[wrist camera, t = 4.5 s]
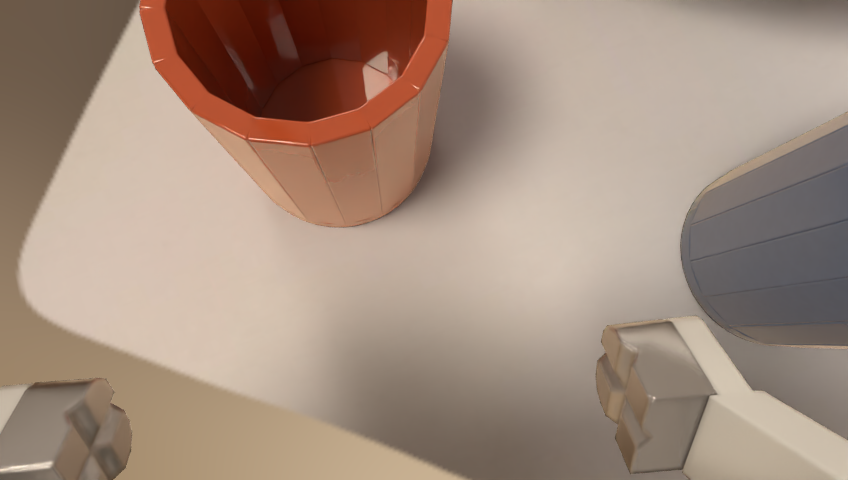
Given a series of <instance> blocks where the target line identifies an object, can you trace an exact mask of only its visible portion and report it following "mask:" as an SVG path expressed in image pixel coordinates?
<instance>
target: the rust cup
mask: <svg viewBox="0 0 848 480" xmlns="http://www.w3.org/2000/svg"><path fill="white" fill-rule="evenodd" d="M452 1H453V0H140V6H139V8H140V16H141V20H142V24H143V28H144V32H145V36H146V40H147V43H148V47H149V51H150V55H151V59H152V63H153V64H154V65H155V69H156V70H157V71H158V72H159V74H160V75H161V76H162V77H163V79H164V80H165V81H166V82H167V83H168V85H169V86H170V87H171V88H172V90H173V91H174V92H175V93H176V95H177V96H178V97H179V98H180V99H181V101H182V102H183V103H184V104H185V106H186V107H187V108H188V109H189V110H190V112H191V113H192V114H193V115H194V116H195V117H196V118H197V119H198V120H199V121H200V122H201V124H202V125H203V126H204V127H205V128H206V129H207V130H208V131H209V132H210V133H211V134H212V136H213V137H214V138H215V139H216V140H217V141H218V142H219V143H220V144H221V145H222V146H223V148H224V149H225V150H226V151H227V152H228V153H229V154H230V155H231V156H232V157H233V158H234V160H235V161H236V162H237V163H238V164H239V165H240V166H241V167H242V168H243V169H244V170H245V171H246V173H247V174H248V175H249V176H250V177H251V178H252V179H253V180H254V181H255V182H256V183H257V185H258V186H259V187H260V188H261V189H262V190H263V191H264V192H265V193H266V194H267V195H268V197H269V198H270V199H271V200H272V201H273V202H274V203H276V204H277V205H278V206H280V207H281V208H283V209H284V210H285V211H287V212H288V213H290V214H292V215H293V216H295V217H297V218H299V219H302V220H304V221H306V222H309V223H313V224H316V225H321V226H327V227H349V226H356V225H361V224H365V223H368V222H371V221H373V220H376V219H378V218H380V217H382V216H384V215H386V214H388V213H389V212H391V211H392V210H393V209H395V208H396V207H398V206H399V205H400V204H401V203H402V202H403V201H404V200H405V199H406V198H407V197H408V196H409V195H410V194H411V192H412V191H413V190H414V188H415V187H416V185H417V184H418V182H419V180H420V178H421V176H422V174H423V172H424V170H425V166H426V163H427V162H428V159H429V156H430V150H431V144H432V138H433V132H434V126H435V120H436V114H437V108H438V102H439V97H440V91H441V85H442V79H443V73H444V67H445V61H446V55H447V49H448V43H449V35H450V24H451V13H452Z"/></svg>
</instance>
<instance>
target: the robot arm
mask: <svg viewBox="0 0 848 480" xmlns="http://www.w3.org/2000/svg"><path fill="white" fill-rule="evenodd" d="M601 343H602V345H603V348H604V350H605V352H606V353H605V354H604V355H603V356H602V357H601V358H600V359H599V360H598V361H597V368H596V385H597V392H598V396H599V400H600V403H601V406H602V408H603V411H604V413H605V416H607V417H608V418H610V419H611V420H612V421H614V422H615V423H616V424H618V427H617V432H616V436H615V439H616V442H617V444H618V446H619V449H620V451H621V454H622V456H623V458H624V461H625V463H626V465H627V468H628V470H629V472H630V474H636V473H648V472H659V471H671V470H682V469H683V471H682V473H683V474H685V475H686V476H687V477H688V478H689V479H690V480H848V440H846V439H845V438H843V437H841V436H840V435H838V434H836V433H835V432H833V431H831V430H829V429H828V428H826V427H824V426H823V425H821V424H819V423H817V422H816V421H814V420H812V419H811V418H809V417H807V416H806V415H804V414H802V413H800V412H799V411H797V410H795V409H794V408H792V407H790V406H788V405H787V404H785V403H783V402H782V401H780V400H778V399H776V398H775V397H773V396H771V395H770V394H768V393H766V392H765V391H763V390H759V391H753V390H752V389H751V387H750V386H749V384H748V383H747V382H746V380H745V379H744V377H743V376H742V375H741V373H740V372H739V370H738V369H737V367H736V366H735V365H734V363H733V362H732V360H731V359H730V358H729V356H728V355H727V353H726V352H725V350H724V349H723V348H722V346H721V345H720V343H719V342H718V341H717V339H716V338H715V336H714V335H713V334H712V332H711V331H710V329H709V328H708V326H707V325H706V324H705V322H704V321H703V319H701V318H699V317H698V316H687V317H678V318H669V319H665V320H664V319H659V320H650V321H641V322H632V323H623V324H615V325H607V326H606V328H605V329H604V331H603V335H602V340H601ZM113 394H114V390H113V389H112V387H111V386H110V384H109V382H108V381H107V379H104V378H89V379H77V380H63V381H51V382H38V383H32V384H19V385H6V386H2V387H0V480H113V479H114V478H116V476H118V475H119V473H121V472H122V471H123V470H124V469H125V468H126V465H127V461H128V458H129V455H130V452H131V441H132V430H131V425H130V421H129V419H128V417H127V415H126V413H125V411H124V410H123V409H121V408H119V407H117V406H116V405H114V404H112V403H110V402H111V400H112V397H113Z"/></svg>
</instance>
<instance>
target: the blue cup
mask: <svg viewBox="0 0 848 480" xmlns="http://www.w3.org/2000/svg"><path fill="white" fill-rule="evenodd" d="M681 260H682V265H683V270H684V273H685V277H686V280H687V282H688V285H689V287H690V289H691V291H692V293H693V295H694V296H695V298H696V300H697V301H698V303H699V304H700V305H701V307H702V308H703V309H704V311H705V312H706V313H707V314H708V315H709V316H710V317H711V318H712V319H713V320H714V321H715V322H716V323H718V324H719V325H720V326H722V327H723V328H724V329H726V330H727V331H729V332H731V333H732V334H734V335H736V336H738V337H740V338H742V339H745V340H747V341H750V342H754V343H757V344H762V345H768V346H787V347H798V348H834V349H848V112H846V113H844V114H842V115H840V116H838V117H836V118H834V119H832V120H830V121H828V122H826V123H824V124H822V125H820V126H818V127H816V128H814V129H812V130H810V131H808V132H806V133H804V134H802V135H800V136H798V137H796V138H794V139H792V140H790V141H788V142H786V143H784V144H782V145H780V146H778V147H776V148H775V149H773V150H771V151H769V152H767V153H765V154H763V155H761V156H759V157H757V158H755V159H753V160H751V161H749V162H747V163H745V164H743V165H741V166H739V167H737V168H735V169H733V170H731V171H729V172H728V173H727V174H726V175H724V176H723V177H721V178H719V179H717V180H715V181H714V182H713V183H712V184H710V185H709V186H708V187H707V188H706V189H705V190H704V191H703V192H702V193H701V194H700V195H699V196H698V197H697V199H696V200H695V201H694V203H693V205H692V206H691V208H690V210H689V212H688V214H687V217H686V220H685V222H684V226H683V231H682V236H681Z"/></svg>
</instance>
